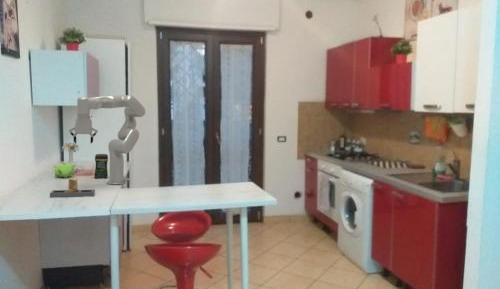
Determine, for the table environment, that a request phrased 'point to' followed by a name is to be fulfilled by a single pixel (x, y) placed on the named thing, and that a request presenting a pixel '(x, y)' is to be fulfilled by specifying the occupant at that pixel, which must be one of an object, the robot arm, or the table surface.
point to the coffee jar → (101, 166)
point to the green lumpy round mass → (64, 170)
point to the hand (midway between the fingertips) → (83, 143)
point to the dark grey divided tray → (72, 193)
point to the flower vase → (70, 151)
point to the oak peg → (72, 185)
